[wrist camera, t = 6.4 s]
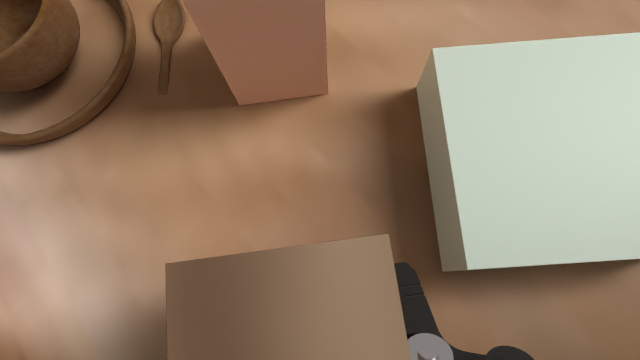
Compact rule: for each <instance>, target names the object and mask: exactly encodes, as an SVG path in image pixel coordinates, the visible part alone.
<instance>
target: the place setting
mask: <svg viewBox="0 0 640 360" xmlns="http://www.w3.org/2000/svg"><path fill="white" fill-rule="evenodd" d="M107 1H109V2H110V3H111V5H112V6H113V7H114V8H115V9H116V11H117V12H118V14H119V16H120V17H121V20H122V22H123V25H124V29H125V39H124V45H123V49H122V53H121V56H120V58H119V61H118V64H117V66H116V68H115V70H114V71H113V73H112V75H111V77H110V78H109V80H108V81H107V83H106V84H105V85H104V87H103V88H102V89H101V90H100V91H99V93H98V94H97V95H96V96H95V97H94V98H93V99H92V100H91V101H90V102H89V103H88V104H86V105H85V106H84V107H83V108H82V109H80V110H79V111H77V112H76V113H75V114H73V115H72V116H70V117H68V118H67V119H65V120H63V121H62V122H60V123H58V124H55V125H53V126H51V127H49V128H46V129H43V130H40V131H37V132H34V133H29V134H24V135H20V134H10V133H5V132H1V131H0V144H1V145H27V144H35V143H40V142H45V141H48V140H51V139H55V138H58V137H61V136H63V135H65V134H67V133H70V132H72V131H74V130H76V129H77V128H79V127H81V126H82V125H84V124H86V123H87V122H88V121H90V120H91V119H92V118H94V117H95V116H96V115H98V114H99V113H100V112H101V111H102V110H103V109H104V108H105V107H106V106H107V105H108V104H109V103H110V102H111V100H112V99H113V98H114V97H115V96H116V94H117V93H118V91H119V90H120V88H121V87H122V85H123V83H124V81H125V79H126V78H127V76H128V73H129V71H130V68H131V65H132V62H133V58H134V53H135V44H136V34H135V25H134V21H133V16H132V13H131V11H130V8H129V6H128V4H127V2H126V0H107ZM184 23H185V13H184V9H183V6H182V4H181V2H180V0H162V1H161V2H160V4H159V5H158V7H157V9H156V12H155V14H154V29H155V32H156V35H157V37H158V39H159V40H160V42H161V46H162V57H161V68H160V77H159V85H158V94H159V95H165V94H167V90H168V82H169V64H170V54H171V49H172V46H173V44H174V43H175V42H176V41H177V40H178V38H179V37H180V35H181V33H182V30H183V27H184ZM79 38H80V26H79V20H78V17H77V14H76V12H75V9H74V8H73V6H72V4H71V2H70V1H69V0H0V92H22V91H27V90H31V89H34V88H37V87H39V86H42V85H44V84H46V83H47V82H49V81H51V80H52V79H54V78H56V77H57V76H59V75H60V74H61V73H62V72H63V71H64V70H65V69H66V68H67V67H68V65H69V64H70V62H71V60H72V58H73V57H74V55H75V52H76V50H77V47H78V43H79Z"/></svg>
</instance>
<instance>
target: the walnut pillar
mask: <svg viewBox="0 0 640 360" xmlns="http://www.w3.org/2000/svg"><path fill="white" fill-rule="evenodd" d="M165 271H166V316H167V360H411V358H410V352H409V346H408V341H407V335H406V329H405V324H404V318H403V312H402V306H401V301H400V295H399V289H398V284H397V278H396V272H395V267H394V261H393V255H392V250H391V244H390V238H389V234H382V235H375V236H367V237H360V238H352V239H345V240H338V241H330V242H323V243H315V244H308V245H301V246H293V247H286V248H278V249H271V250H264V251H256V252H249V253H241V254H234V255H227V256H219V257H212V258H204V259H197V260H190V261H182V262H175V263H167V264H165Z"/></svg>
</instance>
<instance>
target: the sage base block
mask: <svg viewBox="0 0 640 360" xmlns="http://www.w3.org/2000/svg"><path fill="white" fill-rule="evenodd" d="M416 89H417V96H418V104H419V111H420V118H421V125H422V132H423V139H424V146H425V153H426V160H427V167H428V174H429V181H430V188H431V195H432V202H433V209H434V216H435V223H436V230H437V237H438V244H439V251H440V258H441V265H442V272H446V271H462V270H477V269H493V268H508V267H524V266H539V265H554V264H570V263H585V262H601V261H616V260H632V259H640V32H639V33H626V34H613V35H600V36H587V37H574V38H561V39H548V40H535V41H522V42H509V43H496V44H483V45H470V46H457V47H444V48H432V51H431V53H430V56H429V58H428V60H427V63H426V65H425V68H424V70H423V72H422V75H421V77H420V79H419V82H418V84H417V87H416Z"/></svg>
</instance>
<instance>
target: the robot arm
mask: <svg viewBox="0 0 640 360" xmlns="http://www.w3.org/2000/svg"><path fill="white" fill-rule="evenodd" d="M394 267H395V272H396V278H397V284H398V289H399V295H400V301H401V306H402V312H403V318H404V324H405V329H406V335H407V341H408V346H409V352H410V358H411V360H534V359H533V358H532V357H531V356H530V355H528V354H527V353H526V352H524V351H522V350H520V349H518V348H515V347H511V346H498V347H495V348H493V349H491V350H490V351H489V352H488V353H487V355H481V354H475V353H469V352H465V351H461V350H458V349H456V348H454V347H453V346H451V345H450V344H448V343H447V342H446V341H445V340H444V339H443V338H442V336H441V335H440V333H439V331H438V328H437V326H436V323H435V321H434V318H433V315H432V313H431V310H430V308H429V305H428V303H427V300H426V297H425V296H424V292H423V290H422V287H421V286H420V282H419V280H418V277H417V274H416V272H415V271H414V270H413V269H412V268H411V267H410V266H409V265H408V264H407V263H406V262H403V263H396V264H394Z"/></svg>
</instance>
